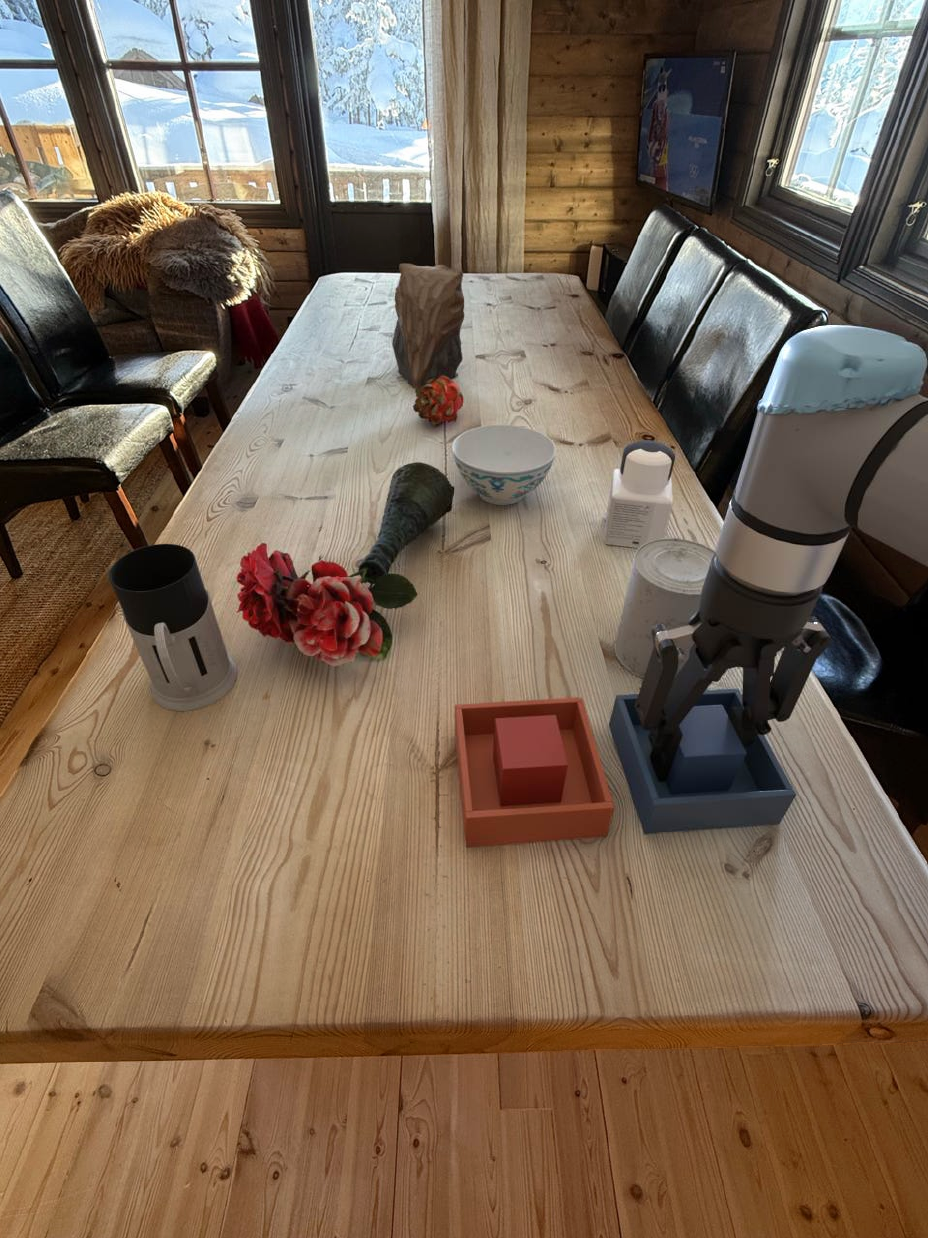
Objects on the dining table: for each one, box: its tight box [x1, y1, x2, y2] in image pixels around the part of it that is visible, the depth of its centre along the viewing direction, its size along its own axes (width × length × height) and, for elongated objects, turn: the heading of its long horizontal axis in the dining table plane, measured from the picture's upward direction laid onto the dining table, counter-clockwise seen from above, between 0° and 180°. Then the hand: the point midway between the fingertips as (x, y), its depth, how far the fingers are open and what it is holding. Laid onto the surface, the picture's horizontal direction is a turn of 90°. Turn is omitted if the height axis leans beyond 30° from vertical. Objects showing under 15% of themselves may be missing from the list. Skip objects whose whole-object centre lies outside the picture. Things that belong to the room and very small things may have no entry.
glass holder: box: [108, 543, 238, 712], centre depth 63 cm, size 9×14×15 cm, turn 20°
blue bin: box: [608, 687, 797, 835], centre depth 60 cm, size 12×12×4 cm
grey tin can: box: [613, 537, 716, 680], centre depth 70 cm, size 10×10×12 cm
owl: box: [391, 263, 465, 389], centre depth 130 cm, size 13×13×20 cm
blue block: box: [665, 705, 746, 794], centre depth 60 cm, size 6×6×6 cm
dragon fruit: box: [412, 376, 465, 427], centre depth 118 cm, size 8×8×12 cm
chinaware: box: [451, 424, 557, 506], centre depth 98 cm, size 15×15×8 cm
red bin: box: [454, 696, 616, 848], centre depth 59 cm, size 12×12×4 cm
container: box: [603, 439, 676, 549], centre depth 88 cm, size 8×8×13 cm
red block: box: [493, 715, 568, 806], centre depth 59 cm, size 6×6×6 cm
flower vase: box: [236, 461, 456, 667], centre depth 79 cm, size 16×18×35 cm
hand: (690, 766), depth 61 cm, fingers closed on blue block, 5 cm apart
